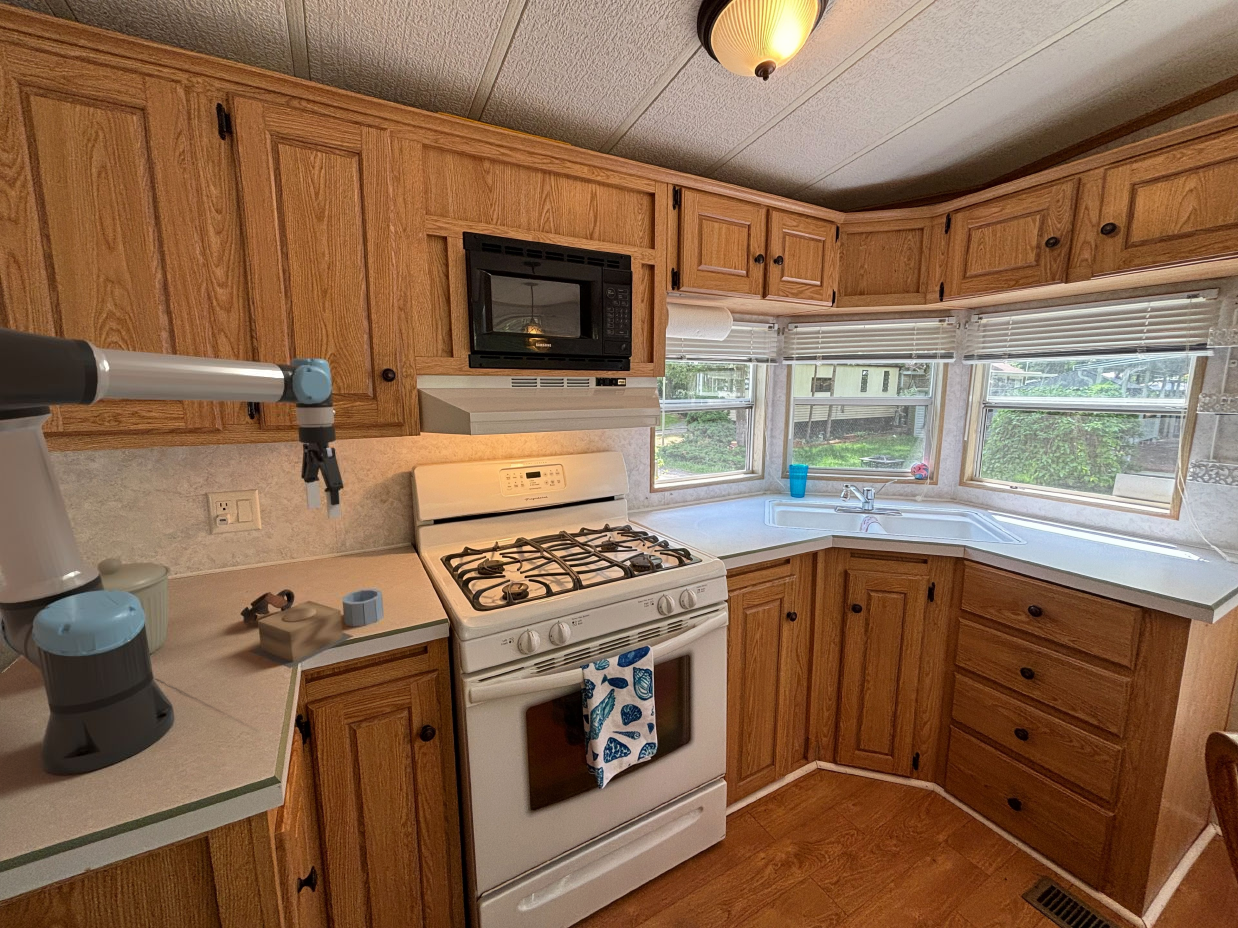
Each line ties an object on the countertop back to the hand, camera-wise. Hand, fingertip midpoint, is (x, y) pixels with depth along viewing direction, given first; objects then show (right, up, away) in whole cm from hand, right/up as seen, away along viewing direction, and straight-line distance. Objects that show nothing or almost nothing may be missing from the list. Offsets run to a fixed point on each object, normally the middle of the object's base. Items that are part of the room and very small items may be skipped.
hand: (324, 512), depth 123 cm
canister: (-32, -28, -16) cm, 46 cm away
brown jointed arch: (-11, -26, -1) cm, 28 cm away
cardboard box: (+3, -27, -12) cm, 30 cm away
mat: (+3, -28, -12) cm, 30 cm away
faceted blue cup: (+10, -26, -1) cm, 28 cm away
